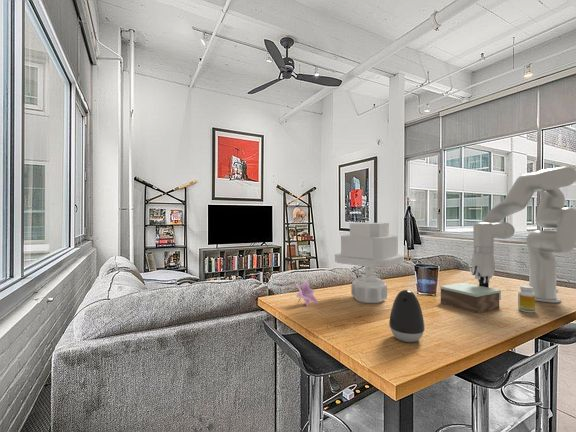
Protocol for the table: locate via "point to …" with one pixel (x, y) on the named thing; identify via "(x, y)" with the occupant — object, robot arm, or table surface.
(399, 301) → the dark egg-shaped diffuser
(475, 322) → the table surface
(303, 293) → the lily
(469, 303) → the walnut box
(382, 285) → the tiered cake on stand
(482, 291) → the lid
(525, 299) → the supplement bottle
